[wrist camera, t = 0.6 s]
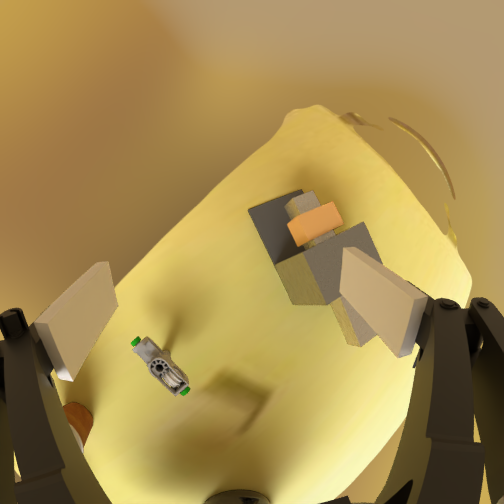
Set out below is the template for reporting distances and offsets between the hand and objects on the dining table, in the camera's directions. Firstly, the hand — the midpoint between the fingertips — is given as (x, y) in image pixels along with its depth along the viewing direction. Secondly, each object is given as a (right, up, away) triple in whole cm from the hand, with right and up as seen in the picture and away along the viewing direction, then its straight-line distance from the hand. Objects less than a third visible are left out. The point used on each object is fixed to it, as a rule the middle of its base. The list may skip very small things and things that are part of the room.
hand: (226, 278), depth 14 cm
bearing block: (+12, -2, +36) cm, 38 cm away
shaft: (+14, -2, +30) cm, 33 cm away
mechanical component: (-13, -16, +28) cm, 35 cm away
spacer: (+11, +5, +29) cm, 32 cm away
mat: (+8, +6, +36) cm, 38 cm away
